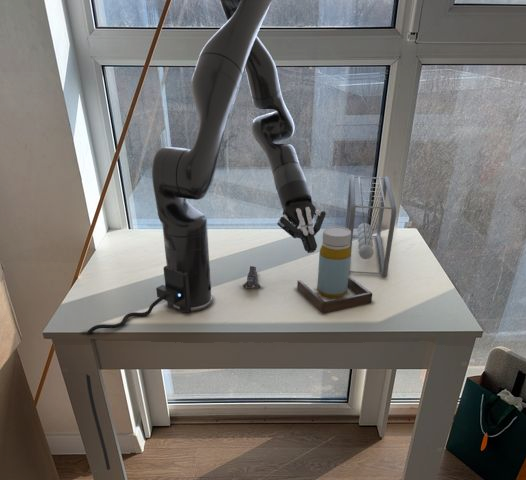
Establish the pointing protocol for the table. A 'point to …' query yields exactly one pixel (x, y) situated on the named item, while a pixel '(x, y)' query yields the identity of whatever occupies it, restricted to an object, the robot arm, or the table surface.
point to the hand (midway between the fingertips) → (312, 251)
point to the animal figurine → (252, 279)
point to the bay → (338, 304)
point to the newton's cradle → (364, 228)
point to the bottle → (334, 262)
